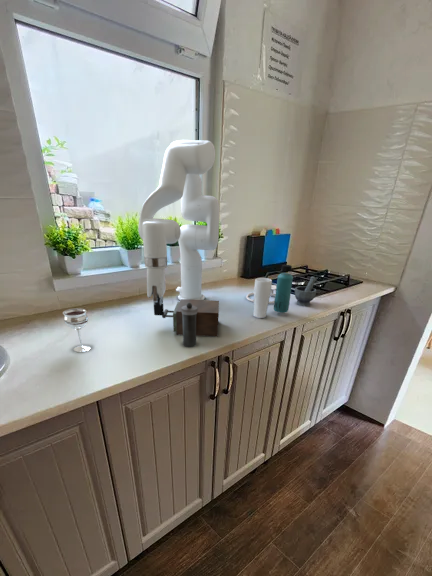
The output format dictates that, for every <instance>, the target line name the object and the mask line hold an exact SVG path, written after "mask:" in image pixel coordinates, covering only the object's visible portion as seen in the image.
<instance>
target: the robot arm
mask: <svg viewBox="0 0 432 576" xmlns="http://www.w3.org/2000/svg"><path fill="white" fill-rule="evenodd" d="M215 161H216V148H215V144H214V143H213V142H212V141H210V140H205V139H204V140H203V139H197V140H196V139H195V140H193V139H179V140H178V139H177V140H175V141H172V142H171V143H170V144H169V146H168V147H167V148H166V150H165V152H164V155H163V162H162V165H161V166H162V167H161V173H160V177H159V185H158V186H157V188H156V189H154V190H153V191H152V192H151V193H150V195H149V196H148V197H147V198H146V200H145V201H144V202H143V204H142V206H141V208H140V209H141V210H140V213H139V219H138V226H137V227H138V229H137V230H138V236H139V238H140V239H141V240H142V243H143V244H142V247H143V258H144V259H143V260H144V267H145V268H146V293H147V298H148V299H150V298H151V297H152V303H153V314H154V316H161V317H162V315H163V313H164V311H165V309H164V295H165V293H166V285H167V284H166V270H165V269H166V268H168V253H167V252H168V251H167V249H168V248H167V245H168V244H170V245H172V244H176V243H178V246H179V255H180V286H177V288H175V292H177V293H179V294H178V296H177V299H178V300H179V301H180V300H181V299H191V300H206V296H205V295H204V294H202V292H203V291H202V289H203V284H202V282H203V261H202V256H201V254H200V253H199V251H200V250H201V251H214V250H216V249H217V248H218V245H219V238H220V236H219V235H220V232H219V231H220V203H219V200H218V198H217V197H215V196H213V195H205V194H203V182H202V178H201V175H204V174H206V173H207V172H208V171H210V170H211V169H212V168H213V166H214V165H215ZM179 200H180V212H181V217H182V219H184V221H190V222H200V223H201V222H202V223H206V225H204V224H203V225H201V224H190V223H189V224H188V223H187V224H183V225H181V226H180V224H179V223H178V222H177V221H176V220H174V219H168V218H167V219H166V218H165V219H164V218H154V216H156V214H157V213H158V212H159V211H160V210H162V209H164V208H165V207H168V206H169V205H171V204H174V203H176V202H178V201H179ZM198 250H199V251H198Z"/></svg>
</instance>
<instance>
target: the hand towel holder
mask: <svg viewBox="0 0 432 576" xmlns="http://www.w3.org/2000/svg"><path fill="white" fill-rule="evenodd" d="M276 285H277V284H272V287H271V293H270V297H275V294H276V293H274V291H276ZM250 296H251V297H252V296H254V292H250V293H247V294H246V296H245V299H246V300H247V301H248V302H251V303H254V299H253V298H250ZM274 302H275V301H274V300H272V301H271V300H269V303H268V305H274Z"/></svg>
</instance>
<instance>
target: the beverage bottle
mask: <svg viewBox="0 0 432 576" xmlns="http://www.w3.org/2000/svg"><path fill="white" fill-rule="evenodd" d="M280 271H281V273H279V274H278V275H277V279H276V284H275V285H276V290H275V293H274V294H275V296H274V300H273V301H275V302H274V304H273V311H274V312H277V313H281V314H283V313H287V312H289V309H290V302H291V294H292V287H293V279H294V276H293V275H292V274H291V273H290V272H292V271H293V266H292V265H291V264H281V268H280Z"/></svg>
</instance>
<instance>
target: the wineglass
mask: <svg viewBox="0 0 432 576" xmlns="http://www.w3.org/2000/svg"><path fill="white" fill-rule="evenodd" d="M62 315H63V316H64V317H63V321H64V323H65V325H66V326H67V327H69V328H70V329H73V330H75V331H77V332H76V333H77V336H78V340H79V344H80V345H79V346H75V347H74V348H73V351H74V352H77V353H83V352H88V351H89V350H90V349H91V346H89V345H85V344H84V345H83V343H82V336H81V330H82V328H84V327H85V326H86V325H87V324H88V321H89V316H88V315H87V310H86V309H84V308H69V309H66V310H64V311H62Z"/></svg>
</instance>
